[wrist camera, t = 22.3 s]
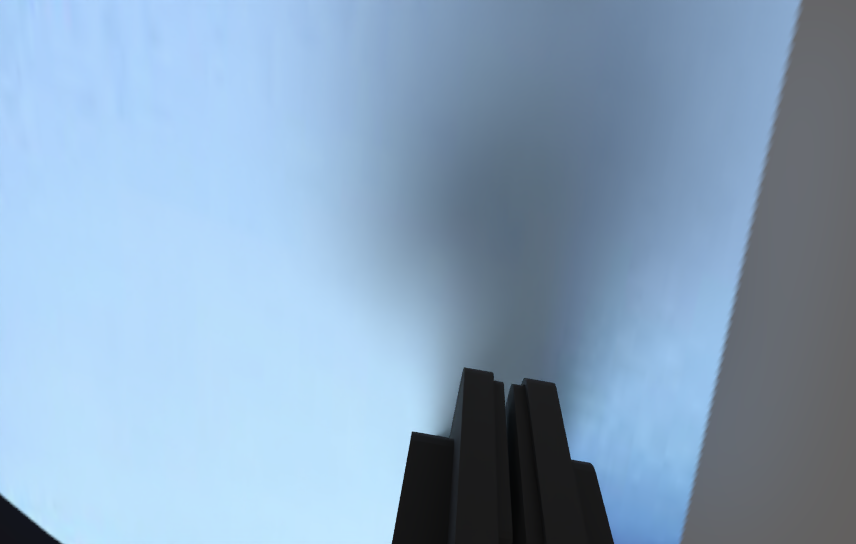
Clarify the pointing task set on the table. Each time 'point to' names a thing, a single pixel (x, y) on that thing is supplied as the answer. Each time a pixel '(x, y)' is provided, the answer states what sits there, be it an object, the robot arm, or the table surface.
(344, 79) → the table surface
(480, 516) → the robot arm
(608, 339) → the table surface
